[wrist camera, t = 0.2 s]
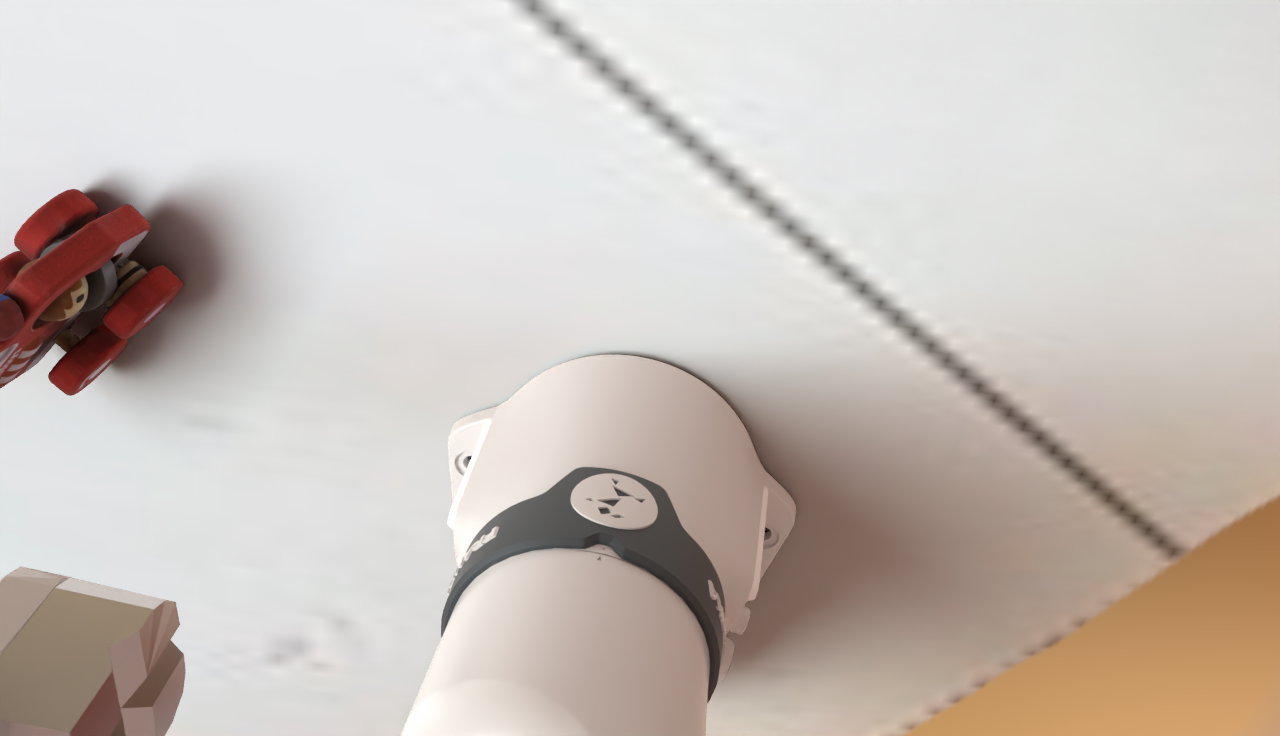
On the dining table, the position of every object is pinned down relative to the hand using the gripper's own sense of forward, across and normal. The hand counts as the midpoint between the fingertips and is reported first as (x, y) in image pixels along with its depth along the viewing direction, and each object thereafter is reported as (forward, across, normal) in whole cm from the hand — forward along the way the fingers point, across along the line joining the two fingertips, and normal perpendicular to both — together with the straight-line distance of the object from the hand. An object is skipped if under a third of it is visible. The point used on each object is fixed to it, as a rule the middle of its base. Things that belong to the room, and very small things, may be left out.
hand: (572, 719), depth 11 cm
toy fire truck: (+38, -29, -23) cm, 53 cm away
